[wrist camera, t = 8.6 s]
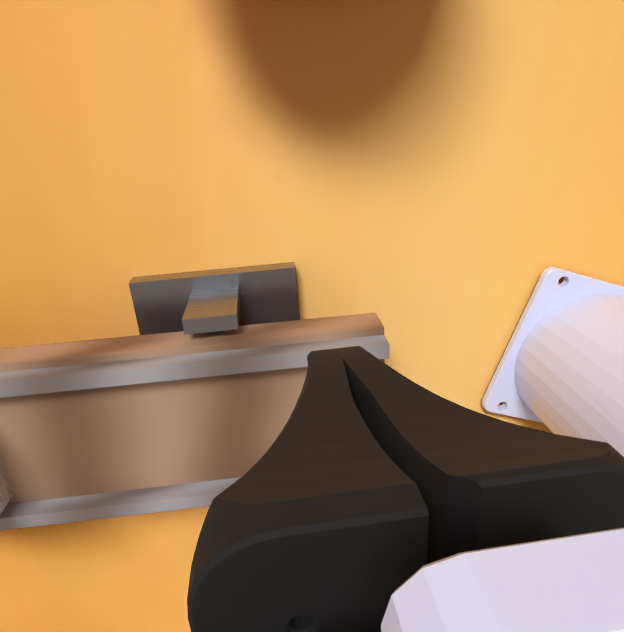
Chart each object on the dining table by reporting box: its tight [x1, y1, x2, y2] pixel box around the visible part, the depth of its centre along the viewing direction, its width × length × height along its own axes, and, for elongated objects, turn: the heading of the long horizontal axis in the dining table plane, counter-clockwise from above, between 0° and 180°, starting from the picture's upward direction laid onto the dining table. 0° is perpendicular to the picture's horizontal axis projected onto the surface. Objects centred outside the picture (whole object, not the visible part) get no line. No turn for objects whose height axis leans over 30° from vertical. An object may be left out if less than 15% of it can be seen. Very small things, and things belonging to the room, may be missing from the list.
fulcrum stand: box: [129, 262, 299, 335], centre depth 22 cm, size 7×10×4 cm
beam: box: [0, 313, 389, 531], centre depth 19 cm, size 23×7×4 cm, turn 94°
